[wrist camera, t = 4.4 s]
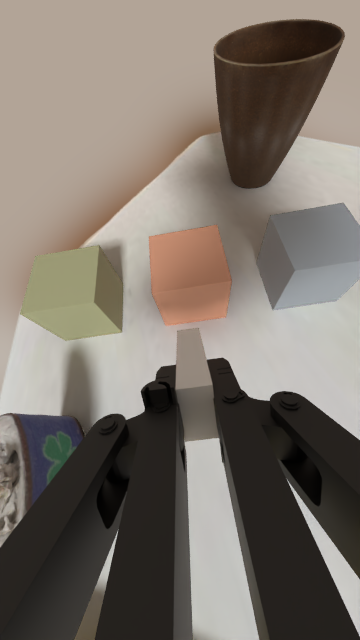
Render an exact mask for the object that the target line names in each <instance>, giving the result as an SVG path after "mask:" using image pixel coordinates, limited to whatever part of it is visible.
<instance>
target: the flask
mask: <svg viewBox="0 0 360 640" xmlns="http://www.w3.org/2000/svg"><path fill="white" fill-rule="evenodd" d="M83 438H84V433H83V431H82V428H81V425H80V423H79V422H78V420H77V419H75V418H73V417H71V416H48V415H27V414H13V413H8V414H4V415H1V416H0V547H1V545H2V544H3V543H4V542H5V540H6V539H7V538H8V536H9V535H10V534H11V532H12V531H13V530H14V528H15V527H16V526H17V525H18V523H19V522H20V521H21V519H22V518H23V517H24V515H25V514H26V513H27V512H28V510H29V509H30V508H31V506H32V505H33V504H34V502H35V501H36V500H37V498H38V497H39V496H40V495H41V493H42V492H43V491H44V489H45V488H46V487H47V485H48V484H49V483H50V482H51V480H52V479H53V478H54V476H55V475H56V474H57V472H58V471H59V470H60V468H61V467H62V466H63V465H64V463H65V462H66V461H67V459H68V458H69V457H70V455H71V454H72V453H73V452H74V450H75V449H76V448H77V446H78V445H79V444H80V442H81V441H82V440H83Z"/></svg>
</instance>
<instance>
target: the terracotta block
mask: <svg viewBox="0 0 360 640" xmlns="http://www.w3.org/2000/svg"><path fill="white" fill-rule="evenodd" d="M149 249H150V268H151V287H152V295H153V297H154V299H155V302H156V304H157V306H158V309H159V311H160V313H161V316H162V318H163V320H164V322H165V325H166V326H169V325H176V324H183V323H190V322H197V321H203V320H210V319H217V318H224V317H226V314H227V308H228V302H229V295H230V289H231V283H232V279H231V276H230V272H229V268H228V264H227V261H226V257H225V253H224V249H223V245H222V242H221V238H220V234H219V230H218V227H217V225H213V226H207V227H201V228H196V229H190V230H184V231H178V232H173V233H167V234H161V235H155V236H150V237H149Z"/></svg>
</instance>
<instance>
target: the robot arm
mask: <svg viewBox="0 0 360 640" xmlns="http://www.w3.org/2000/svg"><path fill="white" fill-rule="evenodd" d="M141 394H142V398H143V402H144V406H145V411H144V412H143V413H142V414H140V415H138V416H136V417H133V418H131V419H128V420H126V419H125V417H124V416H123V415H121V414H110V415H107V416H105V417H103V418H101V419H100V420H98V421H97V422H96V423H95V424H94V425H93V427H92V428H91V429H90V431H89V432H88V433H87V435H86V436H85V437H84V438H83V440H82V441H81V442H80V444H79V445H78V446H77V448H76V449H75V450H74V452H73V453H72V454H71V455H70V457H69V458H68V459H67V461H66V462H65V463H64V465H63V466H62V467H61V468H60V470H59V471H58V472H57V474H56V475H55V476H54V478H53V479H52V480H51V482H50V483H49V484H48V485H47V487H46V488H45V489H44V491H43V492H42V493H41V495H40V496H39V497H38V498H37V500H36V501H35V502H34V504H33V505H32V506H31V508H30V509H29V510H28V512H27V513H26V514H25V515H24V517H23V518H22V519H21V521H20V522H19V523H18V525H17V526H16V527H15V528H14V530H13V531H12V532H11V534H10V535H9V536H8V538H7V539H6V540H5V542H4V543H3V544H2V545H1V547H0V640H74V638H75V636H76V633H77V631H78V628H79V626H80V623H81V621H82V618H83V616H84V613H85V611H86V608H87V606H88V603H89V601H90V598H91V596H92V593H93V591H94V588H95V586H96V583H97V581H98V578H99V576H100V573H101V571H102V568H103V566H104V564H105V561H106V559H107V556H108V554H109V551H110V549H111V546H112V544H113V541H114V539H115V536H116V534H117V531H118V535H117V540H116V544H115V549H114V553H113V558H112V563H111V567H110V572H109V576H108V581H107V586H106V590H105V595H104V599H103V604H102V609H101V613H100V618H99V622H98V627H97V632H96V636H95V640H193V635H192V606H191V577H190V548H189V519H188V490H187V461H186V449H185V444H184V438H185V442H186V441H195V440H203V439H212V438H219V439H220V447H221V455H222V463H224V468H225V472H226V477H227V482H228V487H229V492H230V497H231V502H232V507H233V512H234V517H235V522H236V527H237V532H238V537H239V541H240V546H241V551H242V556H243V561H244V566H245V571H246V576H247V581H248V586H249V591H250V596H251V601H252V605H253V610H254V615H255V620H256V625H257V630H258V635H259V640H360V636H359V634H358V632H357V630H356V628H355V626H354V624H353V621H352V619H351V617H350V615H349V613H348V611H347V608H346V606H345V604H344V602H343V600H342V598H341V596H340V593H339V591H338V589H337V587H336V585H335V583H334V580H333V578H332V576H331V574H330V572H329V570H328V568H327V565H326V563H325V561H324V559H323V557H322V555H321V552H320V550H319V548H318V546H317V544H316V542H315V540H314V537H313V535H312V533H311V531H310V529H309V527H308V524H307V522H306V520H305V518H304V516H303V514H302V512H301V509H300V507H299V505H298V503H297V501H296V499H295V496H294V494H293V492H292V490H291V488H290V486H289V484H288V481H289V483H290V484H291V485H292V487H293V488H294V489H295V491H296V492H297V494H298V495H299V496H300V498H301V499H302V500H303V502H304V503H305V505H306V506H307V507H308V509H309V510H310V511H311V513H312V514H313V516H314V517H315V518H316V520H317V521H318V522H319V524H320V525H321V527H322V528H323V529H324V531H325V532H326V533H327V535H328V536H329V538H330V539H331V540H332V542H333V543H334V544H335V546H336V547H337V549H338V550H339V551H340V553H341V554H342V555H343V557H344V558H345V560H346V561H347V562H348V564H349V565H350V566H351V568H352V569H353V571H354V572H355V573H356V575H357V576H358V577H359V579H360V440H359V439H357V438H356V437H355V436H353V435H352V434H351V433H350V432H348V431H347V430H346V429H344V428H343V427H342V426H341V425H339V424H338V423H337V422H335V421H334V420H333V419H332V418H330V417H329V416H328V415H326V414H325V413H324V412H323V411H321V410H320V409H319V408H317V407H316V406H315V405H314V404H312V403H311V402H310V401H308V400H307V399H306V398H304V397H303V396H301V395H299V394H297V393H293V392H287V391H282V392H277V393H275V394H273V395H272V396H271V398H270V401H264V400H257V399H253V398H250V397H248V395H247V394H246V393H245V391H243V390H241V389H240V386H239V384H238V382H237V380H236V377H235V375H234V373H233V370H232V368H231V366H230V364H229V362H228V361H227V360H226V359H224V358H217V359H210V360H206V356H205V352H204V348H203V343H202V339H201V335H200V331H199V328H195V329H188V330H181V331H177V357H176V365H171V366H163V367H161V368H160V369H159V370H158V371H157V374H156V379H155V381H152V382H150V383H148V384H147V385H145V386H144V387H143V389H142V390H141ZM286 478H287V479H286ZM287 480H288V481H287ZM118 529H119V530H118Z"/></svg>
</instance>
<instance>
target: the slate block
mask: <svg viewBox="0 0 360 640" xmlns="http://www.w3.org/2000/svg"><path fill="white" fill-rule="evenodd" d="M257 266H258V269H259V272H260V275H261V278H262V281H263V284H264V286H265V289H266V292H267V295H268V298H269V301H270V304H271V306H272V309H273V310H279V309H285V308H292V307H299V306H306V305H312V304H319V303H326V302H333V301H337V300H338V299H339V298H340V297H341V296H342V295H343V294H344V293H345V292H346V291H347V290H348V289H349V288H351V287H352V286H353V285H354V284H355V283H356V282H357V281H358V280H359V279H360V225H359V224H358V223H357V221H356V220H355V218H354V217H353V215H352V214H351V213H350V211H349V210H348V208H347V207H346V206H345V204H344V203H339V204H333V205H328V206H322V207H316V208H310V209H305V210H299V211H293V212H288V213H282V214H276V215H270V218H269V222H268V225H267V228H266V232H265V235H264V239H263V242H262V246H261V249H260V252H259V256H258V259H257Z"/></svg>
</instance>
